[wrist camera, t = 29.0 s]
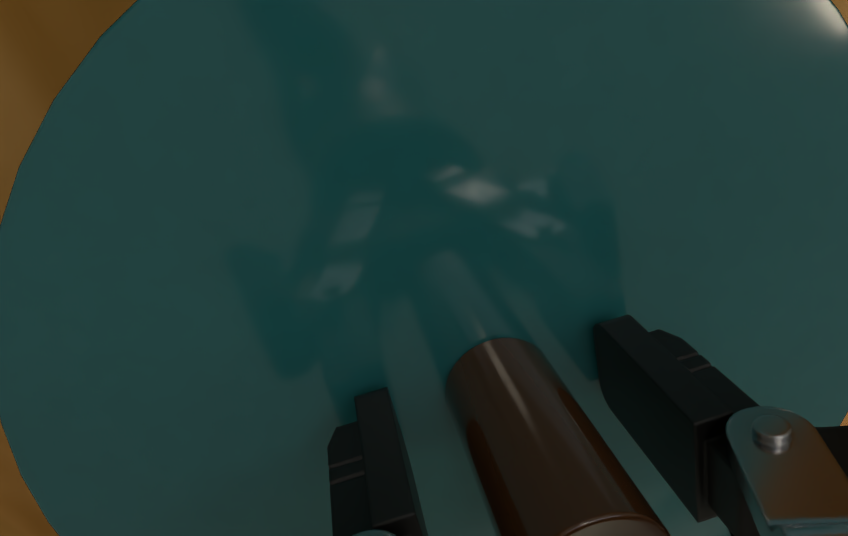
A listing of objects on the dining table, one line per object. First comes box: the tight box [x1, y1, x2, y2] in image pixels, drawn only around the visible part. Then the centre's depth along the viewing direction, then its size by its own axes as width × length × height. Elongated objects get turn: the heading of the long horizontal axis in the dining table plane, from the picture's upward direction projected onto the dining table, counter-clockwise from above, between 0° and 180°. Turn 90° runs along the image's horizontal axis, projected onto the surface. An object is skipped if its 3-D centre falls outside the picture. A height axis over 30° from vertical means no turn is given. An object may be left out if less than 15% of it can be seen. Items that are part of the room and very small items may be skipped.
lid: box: [0, 0, 848, 536], centre depth 11 cm, size 20×20×6 cm
